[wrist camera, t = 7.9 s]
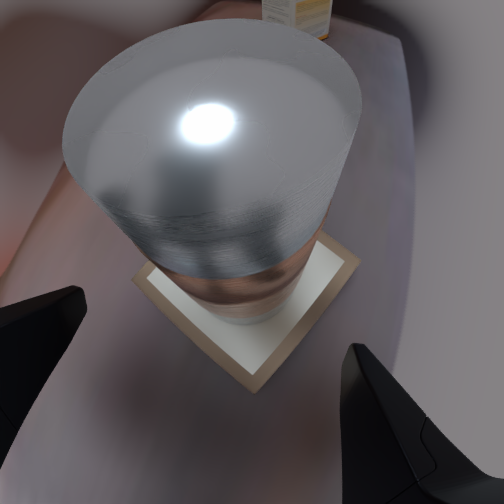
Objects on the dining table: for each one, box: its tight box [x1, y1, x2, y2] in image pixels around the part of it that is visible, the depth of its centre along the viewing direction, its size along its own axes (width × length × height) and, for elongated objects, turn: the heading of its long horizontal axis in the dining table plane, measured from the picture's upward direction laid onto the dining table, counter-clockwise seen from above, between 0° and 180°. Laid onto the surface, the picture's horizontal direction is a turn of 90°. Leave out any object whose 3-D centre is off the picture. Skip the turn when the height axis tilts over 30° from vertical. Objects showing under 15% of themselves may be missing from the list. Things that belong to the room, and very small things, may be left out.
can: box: [62, 19, 362, 325], centre depth 11 cm, size 6×6×13 cm
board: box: [131, 230, 361, 395], centre depth 19 cm, size 10×10×3 cm
